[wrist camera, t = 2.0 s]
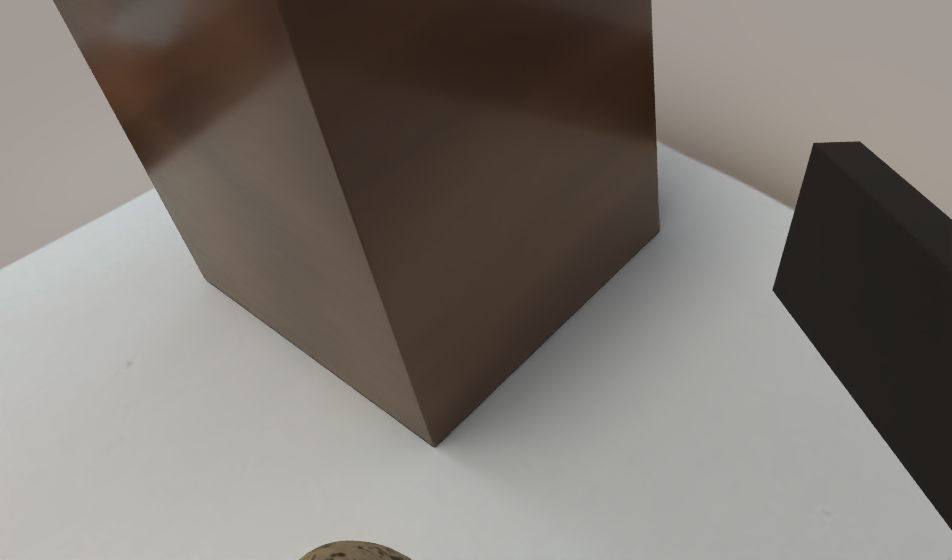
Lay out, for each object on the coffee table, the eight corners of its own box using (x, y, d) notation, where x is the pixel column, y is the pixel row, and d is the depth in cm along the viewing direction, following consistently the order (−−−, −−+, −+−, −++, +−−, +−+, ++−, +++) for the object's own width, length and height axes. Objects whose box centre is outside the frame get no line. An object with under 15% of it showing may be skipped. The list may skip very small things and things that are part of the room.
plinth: (660, 231, 43) (636, -434, 25) (434, 448, 36) (183, -258, 18) (416, 126, 54) (277, -397, 36) (204, 279, 47) (-98, -276, 29)
